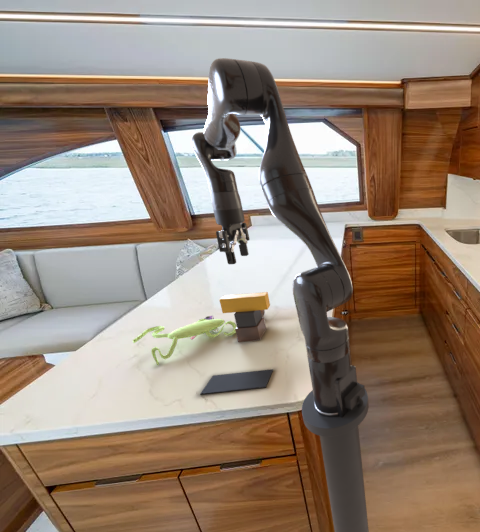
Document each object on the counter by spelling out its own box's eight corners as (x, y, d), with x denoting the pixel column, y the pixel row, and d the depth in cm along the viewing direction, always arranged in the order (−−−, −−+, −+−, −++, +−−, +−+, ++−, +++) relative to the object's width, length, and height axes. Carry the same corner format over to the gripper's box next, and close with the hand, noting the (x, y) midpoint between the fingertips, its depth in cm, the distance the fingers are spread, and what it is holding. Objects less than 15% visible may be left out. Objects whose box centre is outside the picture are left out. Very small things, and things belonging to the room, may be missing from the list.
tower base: (266, 329, 105) (263, 316, 104) (260, 340, 99) (257, 326, 97) (245, 331, 105) (242, 318, 103) (238, 342, 98) (234, 328, 96)
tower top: (261, 317, 103) (259, 304, 102) (256, 326, 98) (253, 312, 96) (243, 319, 103) (240, 306, 101) (237, 327, 97) (233, 314, 95)
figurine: (134, 347, 97) (129, 332, 95) (223, 316, 115) (220, 303, 114) (144, 371, 85) (138, 354, 83) (241, 332, 103) (238, 318, 102)
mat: (273, 370, 84) (273, 369, 84) (265, 387, 77) (265, 386, 77) (213, 376, 82) (212, 375, 82) (200, 395, 75) (200, 393, 75)
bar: (270, 305, 101) (267, 291, 99) (267, 309, 98) (264, 295, 96) (226, 308, 99) (223, 295, 98) (222, 313, 96) (219, 299, 95)
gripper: (228, 210, 80) (241, 266, 86) (250, 203, 94) (260, 252, 99) (200, 211, 80) (214, 267, 85) (226, 204, 93) (237, 253, 99)
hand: (238, 259), depth 92 cm, fingers open, 8 cm apart
